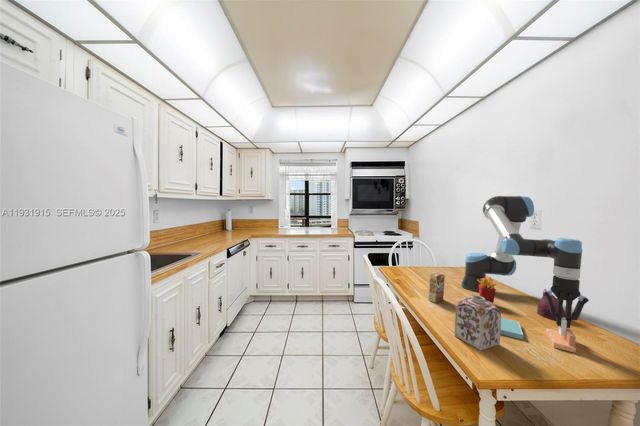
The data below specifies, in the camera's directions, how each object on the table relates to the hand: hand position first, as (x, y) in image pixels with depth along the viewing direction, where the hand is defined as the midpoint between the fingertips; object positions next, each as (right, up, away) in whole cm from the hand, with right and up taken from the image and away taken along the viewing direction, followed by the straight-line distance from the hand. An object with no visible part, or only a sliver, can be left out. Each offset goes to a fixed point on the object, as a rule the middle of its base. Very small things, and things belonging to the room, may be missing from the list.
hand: (562, 334), depth 97 cm
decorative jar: (-35, -3, +1) cm, 35 cm away
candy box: (-31, -1, +42) cm, 52 cm away
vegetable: (+18, -3, +24) cm, 30 cm away
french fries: (-5, -2, +39) cm, 39 cm away
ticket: (-16, -3, +11) cm, 19 cm away
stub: (-1, -3, +1) cm, 4 cm away
